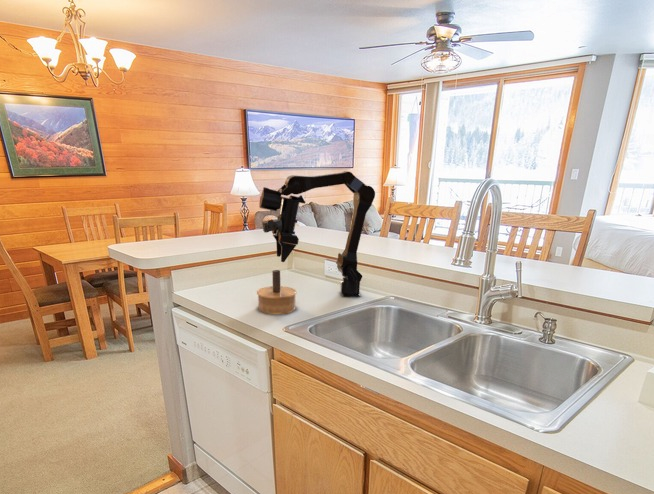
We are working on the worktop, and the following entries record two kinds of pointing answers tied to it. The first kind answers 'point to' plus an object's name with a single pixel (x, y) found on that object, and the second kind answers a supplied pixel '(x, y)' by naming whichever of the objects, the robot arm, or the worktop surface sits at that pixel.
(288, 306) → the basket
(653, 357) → the worktop surface
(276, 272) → the lid
